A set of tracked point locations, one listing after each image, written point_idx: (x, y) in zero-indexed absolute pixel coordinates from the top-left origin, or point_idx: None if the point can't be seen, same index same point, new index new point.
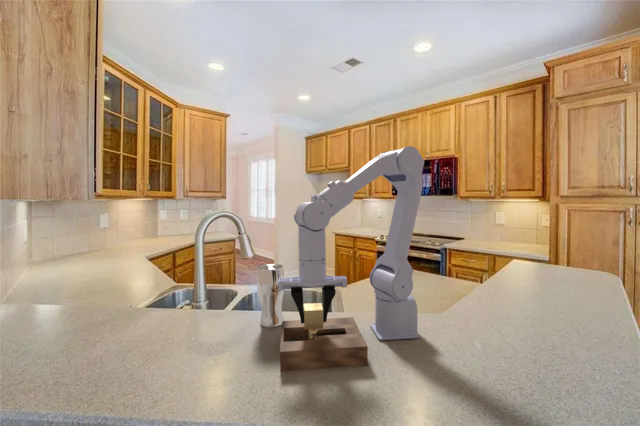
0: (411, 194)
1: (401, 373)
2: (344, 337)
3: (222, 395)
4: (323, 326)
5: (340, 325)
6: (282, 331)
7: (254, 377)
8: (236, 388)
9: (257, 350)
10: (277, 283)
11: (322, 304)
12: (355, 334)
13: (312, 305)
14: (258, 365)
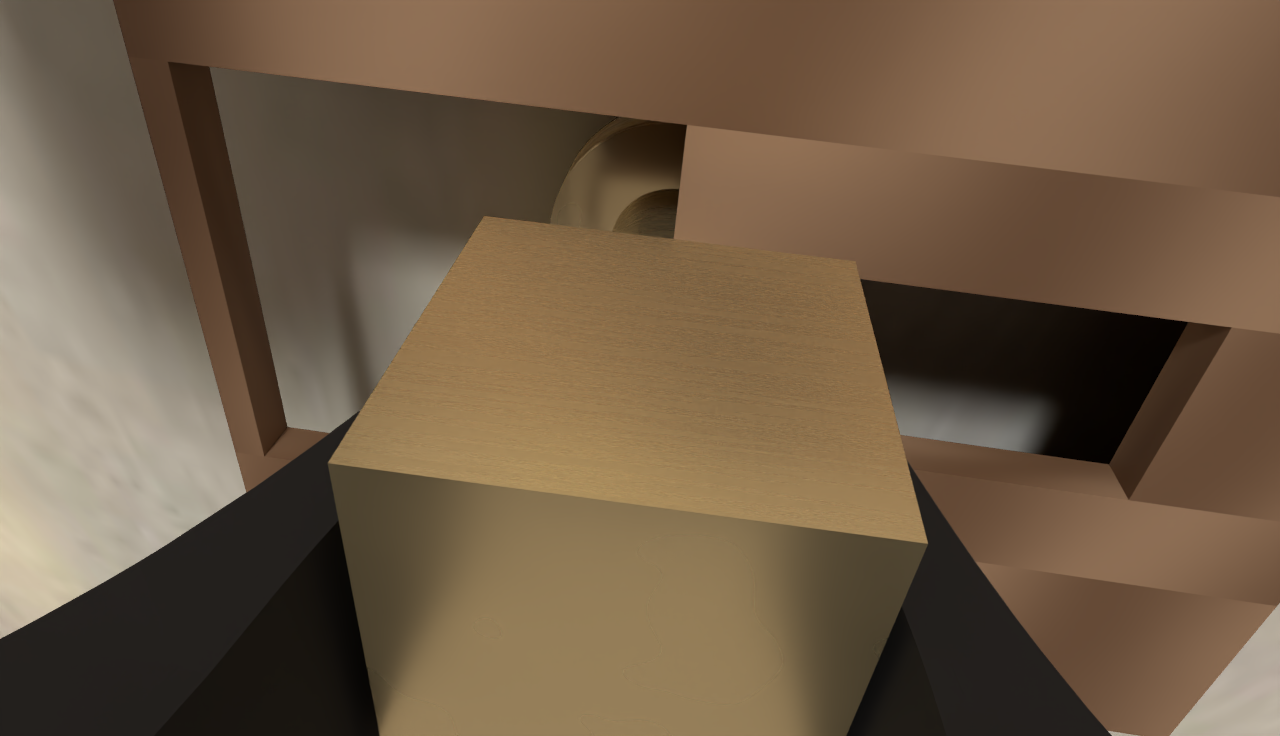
0: None
1: (1271, 703)
2: (1036, 558)
3: (56, 574)
4: (891, 176)
5: (1229, 215)
6: (179, 188)
7: (179, 483)
8: (107, 545)
9: (15, 77)
10: None
11: (909, 637)
12: (1237, 533)
13: (598, 615)
14: (149, 355)
